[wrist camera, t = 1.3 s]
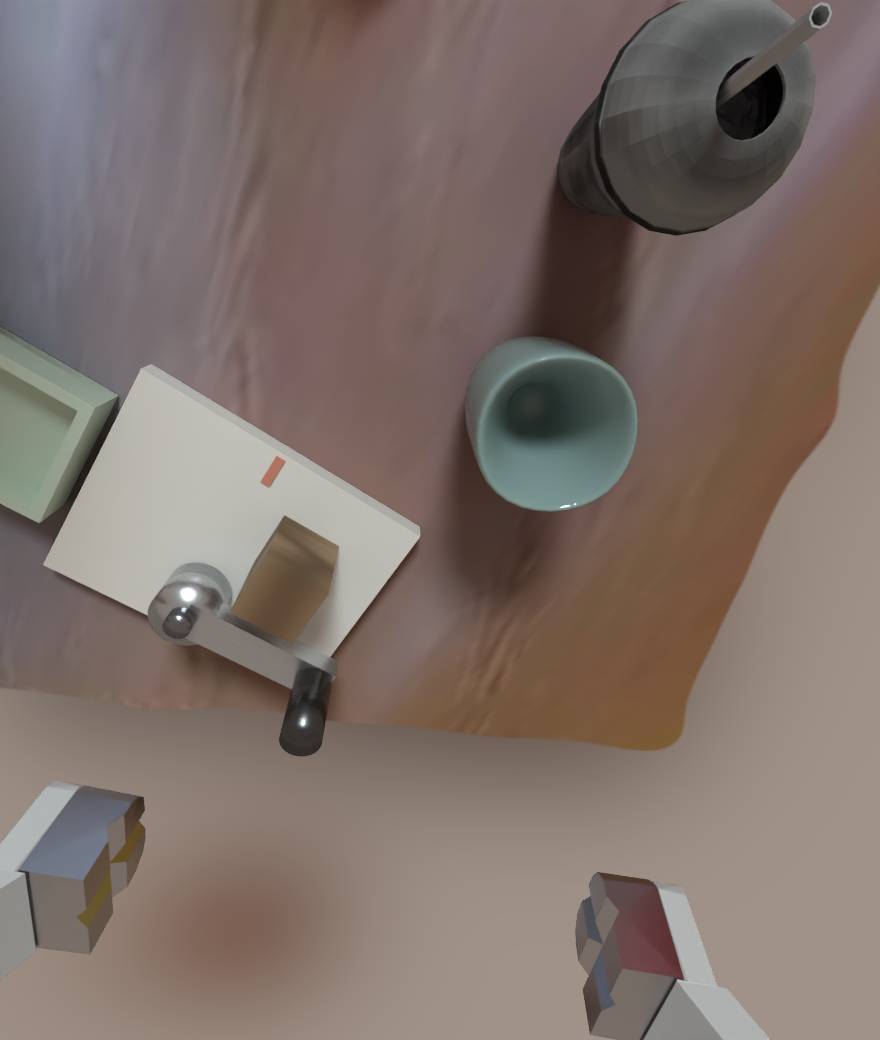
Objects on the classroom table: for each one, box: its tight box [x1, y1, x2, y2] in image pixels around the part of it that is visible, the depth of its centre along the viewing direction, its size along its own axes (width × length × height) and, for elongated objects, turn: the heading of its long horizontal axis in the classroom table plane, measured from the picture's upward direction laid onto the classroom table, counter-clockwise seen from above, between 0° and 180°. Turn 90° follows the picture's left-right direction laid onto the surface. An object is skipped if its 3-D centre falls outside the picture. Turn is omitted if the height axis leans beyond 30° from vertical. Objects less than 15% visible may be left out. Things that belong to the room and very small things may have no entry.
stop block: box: [230, 515, 339, 644], centre depth 36 cm, size 4×4×6 cm
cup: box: [465, 336, 638, 512], centre depth 32 cm, size 8×8×10 cm
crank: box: [148, 562, 338, 756], centre depth 37 cm, size 12×4×8 cm, turn 55°
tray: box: [0, 327, 118, 523], centre depth 34 cm, size 8×8×3 cm
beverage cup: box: [558, 0, 832, 236], centre depth 23 cm, size 7×7×20 cm
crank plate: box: [43, 364, 420, 657], centre depth 39 cm, size 19×15×2 cm
